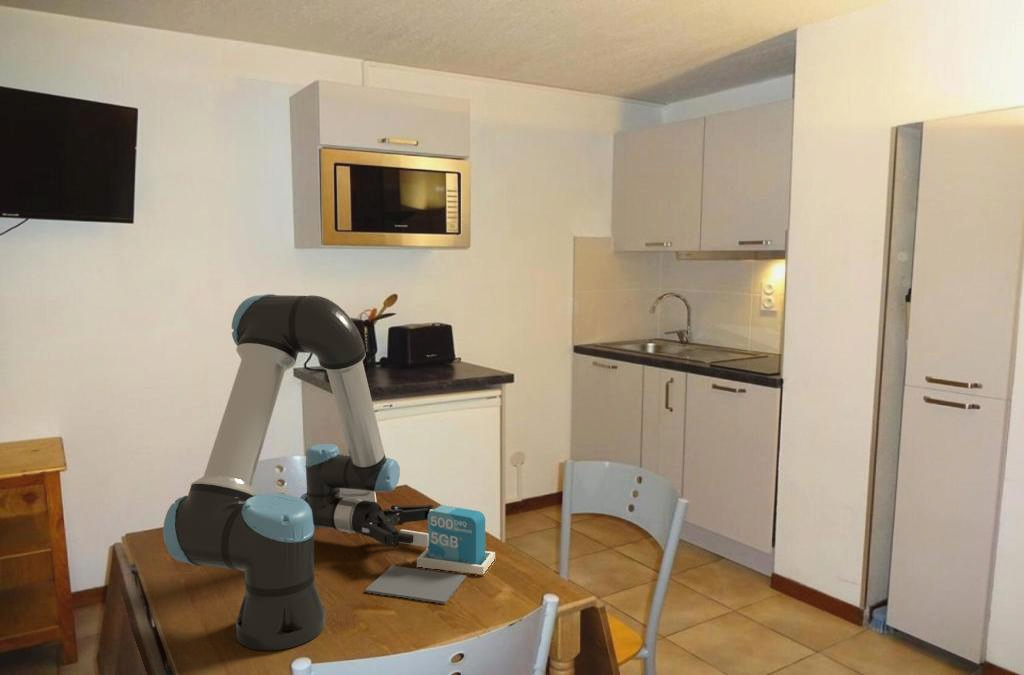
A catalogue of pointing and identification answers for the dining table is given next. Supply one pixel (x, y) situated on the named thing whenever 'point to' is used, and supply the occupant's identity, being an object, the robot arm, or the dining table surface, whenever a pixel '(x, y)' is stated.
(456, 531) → the blue rounded block
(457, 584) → the mat
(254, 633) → the robot arm
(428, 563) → the cradle
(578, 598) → the dining table surface
